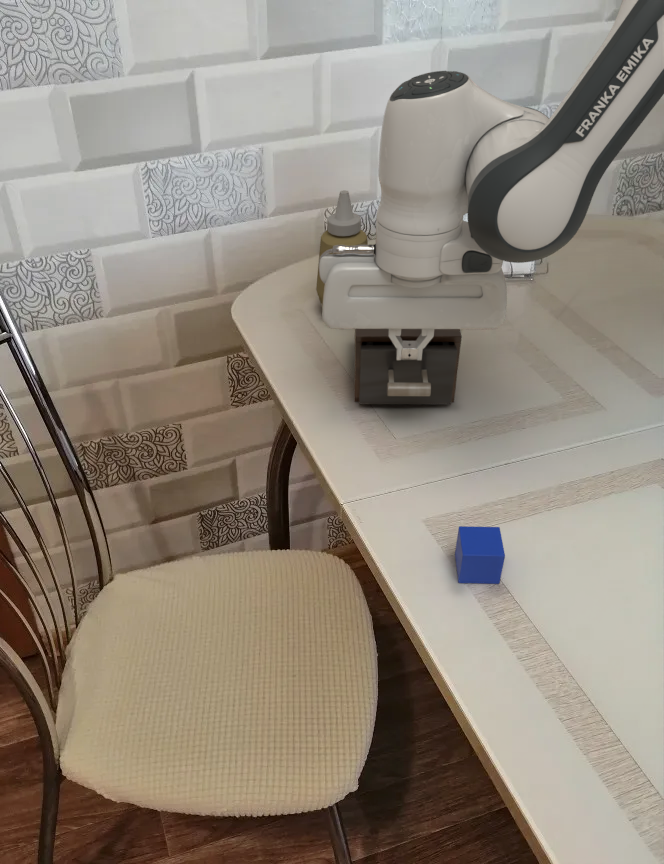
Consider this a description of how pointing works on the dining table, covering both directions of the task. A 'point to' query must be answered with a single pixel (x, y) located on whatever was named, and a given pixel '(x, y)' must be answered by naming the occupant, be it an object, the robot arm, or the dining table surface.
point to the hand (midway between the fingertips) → (408, 357)
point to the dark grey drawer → (406, 375)
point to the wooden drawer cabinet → (406, 335)
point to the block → (479, 555)
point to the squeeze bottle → (340, 232)
